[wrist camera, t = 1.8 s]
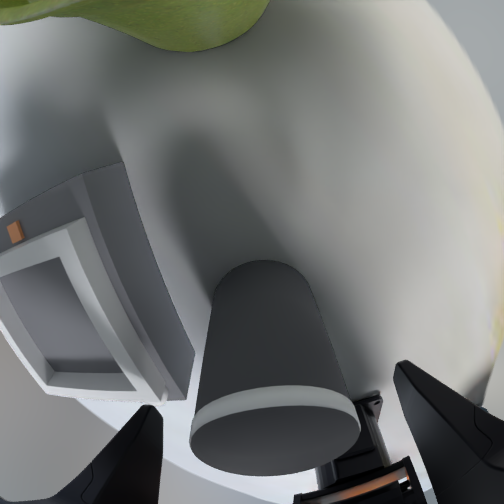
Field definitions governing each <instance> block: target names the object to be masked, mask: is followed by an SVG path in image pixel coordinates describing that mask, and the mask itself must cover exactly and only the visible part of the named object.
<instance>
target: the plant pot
mask: <svg viewBox="0 0 504 504" xmlns="http://www.w3.org/2000/svg"><path fill="white" fill-rule="evenodd" d="M269 1H270V0H0V25H14V24H20V23H26V22H31V21H35V20H39V19H43V18H46V17H49V16H52V17H82V18H85V19H88V20H91V21H94V22H97V23H100V24H102V25H105V26H108V27H110V28H113V29H116V30H118V31H121V32H123V33H126V34H128V35H130V36H132V37H135V38H137V39H139V40H141V41H143V42H146V43H148V44H150V45H152V46H154V47H157V48H161V49H165V50H172V51H183V52H194V51H201V50H206V49H210V48H214V47H217V46H220V45H223V44H226V43H228V42H230V41H232V40H234V39H236V38H237V37H239V36H240V35H242V34H243V33H245V32H246V31H248V30H249V29H250V28H251V27H252V26H253V25H254V24H255V23H256V22H257V21H258V19H259V18H260V17H261V15H262V14H263V12H264V10H265V9H266V7H267V5H268V3H269Z"/></svg>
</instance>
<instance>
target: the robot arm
mask: <svg viewBox="0 0 504 504" xmlns="http://www.w3.org/2000/svg"><path fill="white" fill-rule="evenodd" d="M393 381H394V384H395V387H396V391H397V394H398V397H399V400H400V404H401V407H402V410H403V413H404V416H405V419H406V421H407V424H408V426H409V428H410V431H411V433H412V435H413V438H414V440H415V443H416V445H417V447H418V450H419V452H420V455H421V457H422V460H423V463H424V465H425V468H426V470H427V473H428V476H429V479H430V481H431V484H432V487H433V489H434V493H435V495H436V499H437V502H438V504H504V421H503V420H501V419H499V418H497V417H495V416H493V415H491V414H490V413H488V412H486V411H485V410H483V409H481V408H480V407H478V406H477V405H474V403H472V402H471V401H469V400H467V399H466V398H464V397H463V396H461V395H460V394H458V393H457V392H455V391H454V390H452V389H451V388H449V387H448V386H446V385H445V384H443V383H442V382H440V381H439V380H437V379H436V378H434V377H433V376H431V375H430V374H428V373H426V372H425V371H423V370H422V369H420V368H419V367H417V366H416V365H414V364H413V363H411V362H410V361H408V360H403V361H400V362H398V363H397V364H396V366H395V371H394V376H393ZM382 403H383V399H382V397H381V396H380V395H378V396H375V397H371V398H368V399H365V400H362V401H358V402H355V403H353V405H354V407H355V410H356V413H357V416H358V419H359V422H360V425H361V431H360V434H359V437H358V439H357V441H356V442H355V444H354V445H353V446H352V447H351V448H350V449H349V450H348V451H347V452H345V453H344V454H342V455H341V456H339V457H338V458H336V459H334V460H332V461H330V462H328V463H326V464H324V465H321V466H319V467H316V468H315V471H316V477H317V484H318V490H317V491H313V492H309V493H305V494H302V493H300V494H296V495H294V501H293V504H427V502H426V499H425V496H424V493H423V490H422V488H421V485H420V482H419V480H418V477H417V474H416V472H415V469H414V467H413V464H412V462H411V459H410V457H409V456H407V457H405V458H403V459H402V460H401V461H399V462H396V463H394V464H391V461H390V458H389V455H388V452H387V449H386V446H385V443H384V441H383V438H382V435H381V432H380V429H379V427H378V424H377V423H378V419H379V415H380V411H381V407H382ZM162 458H163V417H162V415H161V414H160V413H159V412H158V410H157V409H156V408H155V407H154V406H153V405H142V406H141V407H140V408H139V409H138V411H137V412H136V413H135V414H134V415H133V416H132V417H131V418H130V420H129V421H128V422H127V423H126V424H125V425H124V426H123V427H122V429H121V430H120V431H119V432H118V433H117V434H116V435H115V436H114V437H113V438H112V440H111V441H110V442H109V443H108V444H107V445H106V446H105V447H104V448H103V449H102V451H101V452H100V453H99V454H98V455H97V456H96V457H95V458H94V460H92V463H90V464H89V465H88V466H87V467H86V468H85V469H84V470H83V471H82V472H81V473H80V474H79V475H78V476H77V477H76V478H75V479H73V480H72V481H71V482H70V483H69V484H68V485H67V486H65V487H64V488H63V489H62V490H60V491H59V492H58V493H57V494H56V495H54V496H52V497H50V498H47V499H41V500H32V501H19V502H9V501H7V500H5V499H4V498H2V497H1V496H0V504H158V497H159V486H160V476H161V467H162ZM404 477H407V480H406V481H404V482H402V483H400V484H399V482H398V480H400V479H402V478H404Z"/></svg>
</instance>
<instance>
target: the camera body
mask: <svg viewBox="0 0 504 504" xmlns="http://www.w3.org/2000/svg"><path fill="white" fill-rule="evenodd" d="M0 330H1V332H2V333H3V335H4V337H5V338H6V340H7V341H8V343H9V344H10V346H11V347H12V349H13V350H14V352H15V353H16V355H17V356H18V358H19V359H20V360H21V362H22V363H23V365H24V366H25V367H26V369H27V370H28V371H29V373H30V374H31V375H32V376H33V378H34V379H35V380H36V381H37V383H38V384H39V385H40V386H41V388H42V389H43V390H44V391H45V392H46V394H51V395H57V396H64V397H73V398H81V399H91V400H103V401H121V402H145V403H147V404H149V405H153V406H163V405H165V404H166V401H172V400H186V399H187V393H188V388H189V382H190V377H191V372H192V367H193V362H194V357H195V352H194V350H193V347H192V345H191V343H190V341H189V339H188V337H187V335H186V333H185V330H184V328H183V326H182V324H181V322H180V319H179V317H178V315H177V313H176V310H175V308H174V306H173V303H172V301H171V299H170V296H169V294H168V291H167V289H166V286H165V284H164V281H163V279H162V276H161V274H160V271H159V269H158V266H157V264H156V261H155V258H154V256H153V253H152V250H151V248H150V245H149V242H148V239H147V236H146V234H145V231H144V228H143V225H142V222H141V219H140V216H139V213H138V210H137V207H136V203H135V200H134V197H133V194H132V191H131V187H130V184H129V180H128V177H127V174H126V170H125V166H124V163H123V162H120V163H116V164H113V165H109V166H105V167H102V168H98V169H94V170H91V171H88V172H84V173H81V174H79V175H77V176H75V177H73V178H71V179H69V180H67V181H65V182H63V183H61V184H59V185H57V186H55V187H53V188H51V189H49V190H47V191H45V192H43V193H42V194H40V195H38V196H36V197H34V198H33V199H31V200H29V201H27V202H26V203H24V204H22V205H21V206H19V207H17V208H16V209H14V210H12V211H11V212H9V213H8V214H6V215H4V216H3V217H1V218H0Z"/></svg>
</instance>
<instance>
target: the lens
mask: <svg viewBox="0 0 504 504" xmlns="http://www.w3.org/2000/svg"><path fill="white" fill-rule="evenodd" d="M360 431H361V425H360V422H359V419H358V416H357V413H356V410H355V407H354V405H353V403H352V402H351V400H350V397H349V394H348V391H347V388H346V385H345V382H344V379H343V376H342V374H341V371H340V368H339V365H338V362H337V359H336V356H335V354H334V351H333V348H332V345H331V343H330V340H329V337H328V334H327V332H326V329H325V326H324V324H323V321H322V318H321V316H320V313H319V310H318V308H317V305H316V303H315V300H314V297H313V295H312V292H311V290H310V287H309V285H308V283H307V281H306V279H305V278H304V277H303V276H302V275H301V274H300V273H299V272H298V271H297V270H295V269H294V268H292V267H290V266H288V265H286V264H284V263H281V262H276V261H269V260H259V261H252V262H249V263H245V264H243V265H240V266H238V267H236V268H235V269H233V270H232V271H230V272H229V273H228V274H227V275H226V276H225V277H223V279H222V280H221V281H220V283H219V284H218V286H217V288H216V291H215V294H214V299H213V305H212V310H211V316H210V322H209V327H208V333H207V339H206V345H205V351H204V357H203V363H202V369H201V376H200V382H199V389H198V395H197V402H196V409H195V415H194V418H193V420H192V425H191V432H190V439H189V444H190V447H191V450H192V452H193V453H194V455H195V456H196V457H197V458H198V459H199V460H201V461H202V462H204V463H205V464H207V465H209V466H211V467H213V468H216V469H219V470H222V471H225V472H229V473H234V474H240V475H248V476H278V475H287V474H293V473H298V472H302V471H306V470H310V469H313V468H316V467H319V466H321V465H324V464H326V463H328V462H330V461H332V460H334V459H336V458H338V457H339V456H341V455H342V454H344V453H345V452H347V451H348V450H349V449H350V448H351V447H352V446H353V445H354V444H355V442H356V441H357V439H358V437H359V434H360Z"/></svg>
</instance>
